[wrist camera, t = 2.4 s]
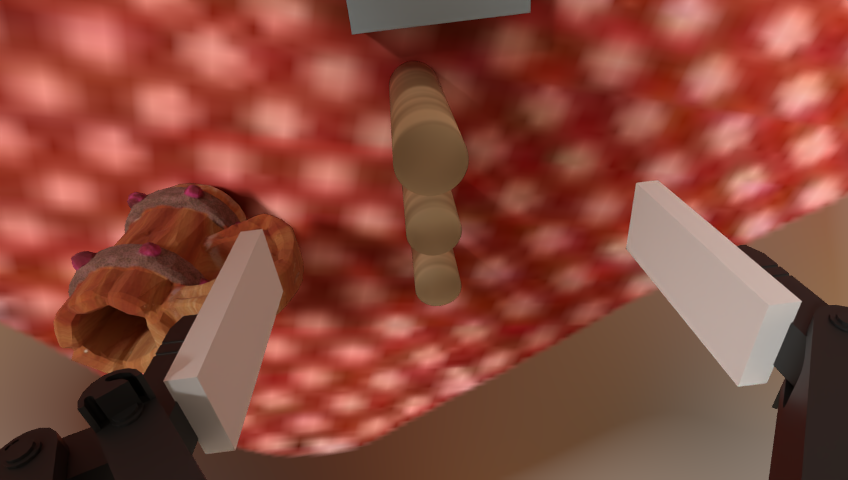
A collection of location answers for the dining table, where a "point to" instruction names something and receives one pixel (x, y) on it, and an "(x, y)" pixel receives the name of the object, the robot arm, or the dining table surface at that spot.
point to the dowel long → (424, 132)
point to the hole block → (425, 12)
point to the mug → (161, 274)
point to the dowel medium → (431, 222)
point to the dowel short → (436, 277)
